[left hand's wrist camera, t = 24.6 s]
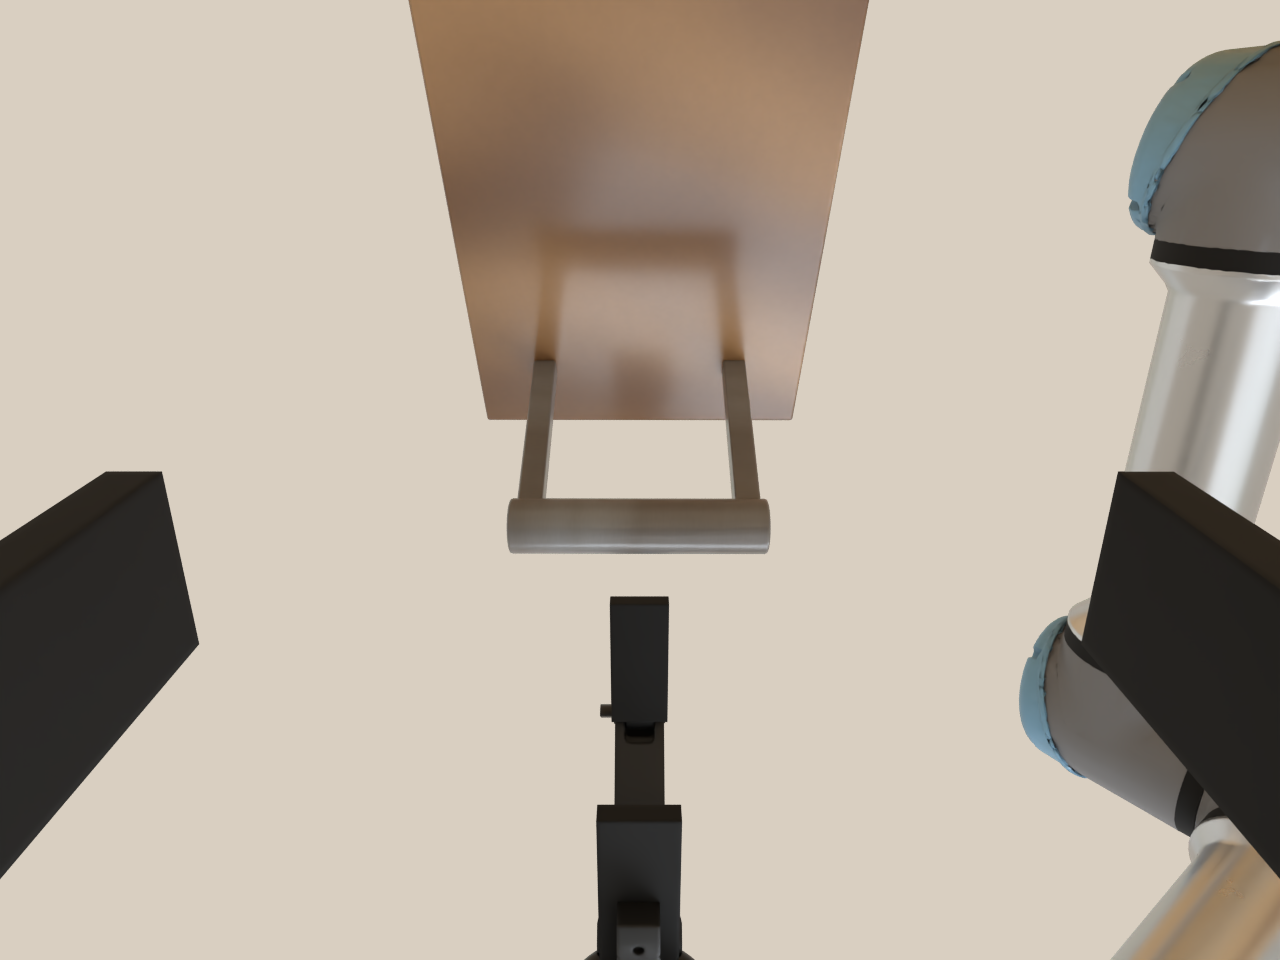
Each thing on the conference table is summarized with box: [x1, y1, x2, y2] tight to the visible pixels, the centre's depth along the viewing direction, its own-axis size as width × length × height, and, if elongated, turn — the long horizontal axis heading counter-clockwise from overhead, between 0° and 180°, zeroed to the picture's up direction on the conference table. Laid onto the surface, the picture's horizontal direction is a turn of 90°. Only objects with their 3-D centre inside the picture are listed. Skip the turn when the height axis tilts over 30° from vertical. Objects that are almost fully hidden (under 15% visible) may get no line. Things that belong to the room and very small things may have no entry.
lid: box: [409, 0, 869, 554], centre depth 23 cm, size 15×10×8 cm
